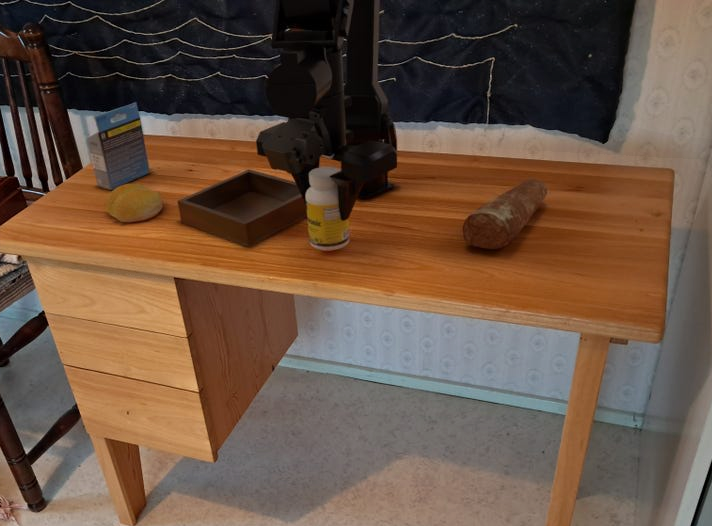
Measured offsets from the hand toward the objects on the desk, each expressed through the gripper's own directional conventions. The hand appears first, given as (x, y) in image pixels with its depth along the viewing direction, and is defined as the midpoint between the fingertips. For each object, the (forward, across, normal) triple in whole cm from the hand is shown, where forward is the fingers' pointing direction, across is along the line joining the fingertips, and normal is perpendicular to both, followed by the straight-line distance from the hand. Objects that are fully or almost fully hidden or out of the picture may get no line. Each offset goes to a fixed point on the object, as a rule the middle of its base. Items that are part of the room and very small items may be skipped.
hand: (327, 214), depth 96 cm
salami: (+5, +16, +18) cm, 25 cm away
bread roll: (+5, -34, -7) cm, 35 cm away
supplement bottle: (+4, 0, 0) cm, 4 cm away
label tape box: (+5, -47, 0) cm, 47 cm away
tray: (+5, -17, +1) cm, 18 cm away
